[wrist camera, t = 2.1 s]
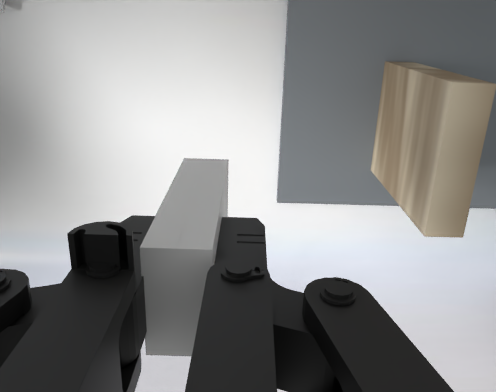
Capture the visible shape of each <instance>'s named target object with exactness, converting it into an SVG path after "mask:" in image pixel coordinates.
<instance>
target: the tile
mask: <svg viewBox="0 0 496 392" xmlns="http://www.w3.org/2000/svg"><path fill="white" fill-rule="evenodd" d="M495 89H496V84H495V83H491V82H487V81H483V80H480V79H476V78H472V77H468V76H464V75H461V74H457V73H453V72H449V71H445V70H442V69H438V68H434V67H430V66H426V65H423V64H419V63H415V62H389V61H385V65H384V73H383V81H382V88H381V96H380V103H379V111H378V118H377V126H376V134H375V141H374V149H373V156H372V164H371V171H372V173H373V174H374V175H375V176H376V177H377V179H378V180H379V181H380V182H381V184H382V185H383V186H384V187H385V188H386V190H387V191H388V192H389V193H390V195H391V196H392V197H393V198H394V200H395V201H396V202H397V203H398V204H399V206H400V207H401V208H402V209H403V211H404V212H405V213H406V214H407V216H408V217H409V218H410V219H411V220H412V222H413V223H414V224H415V225H416V227H417V228H418V229H419V230H420V232H421V233H422V234H423V235H424V236H428V237H463V235H464V230H465V226H466V221H467V217H468V212H469V208H470V203H471V199H472V194H473V190H474V185H475V180H476V176H477V171H478V167H479V162H480V158H481V153H482V149H483V144H484V139H485V135H486V130H487V126H488V121H489V117H490V112H491V108H492V103H493V99H494V94H495Z"/></svg>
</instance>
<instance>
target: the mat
mask: <svg viewBox="0 0 496 392" xmlns="http://www.w3.org/2000/svg"><path fill="white" fill-rule="evenodd" d="M385 61H389V62H415V63H419V64H423V65H426V66H430V67H434V68H438V69H442V70H445V71H449V72H453V73H457V74H461V75H464V76H468V77H472V78H476V79H480V80H483V81H487V82H491V83H495V84H496V0H288V13H287V31H286V48H285V66H284V84H283V101H282V119H281V136H280V154H279V172H278V189H277V203H313V204H350V205H387V206H399V204H398V203H397V202H396V201H395V200H394V198H393V197H392V196H391V195H390V193H389V192H388V191H387V190H386V188H385V187H384V186H383V185H382V184H381V182H380V181H379V180H378V179H377V177H376V176H375V175H374V174H373V173H372V171H371V164H372V156H373V149H374V141H375V134H376V126H377V118H378V111H379V103H380V96H381V88H382V81H383V73H384V65H385ZM470 208H496V89H495V94H494V99H493V103H492V108H491V112H490V117H489V121H488V126H487V130H486V135H485V139H484V144H483V149H482V153H481V158H480V162H479V167H478V171H477V176H476V180H475V185H474V190H473V194H472V199H471V203H470Z"/></svg>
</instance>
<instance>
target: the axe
mask: <svg viewBox="0 0 496 392" xmlns="http://www.w3.org/2000/svg"><path fill="white" fill-rule="evenodd" d="M0 10H1V11H3V12H4V11H5V0H0Z"/></svg>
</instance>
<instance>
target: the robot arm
mask: <svg viewBox="0 0 496 392" xmlns="http://www.w3.org/2000/svg"><path fill="white" fill-rule="evenodd" d="M227 214H228V160H221V159H190V158H184V160H183V162H182V164H181V166H180V168H179V170H178V172H177V174H176V176H175V178H174V180H173V182H172V184H171V186H170V188H169V190H168V192H167V194H166V196H165V198H164V200H163V202H162V204H161V206H160V208H159V210H158V212H157V214H156V216H131V217H129V218H127V219H126V220H124V221H122V222H121V223H118V222H110V221H107V222H94V223H89V224H84V225H82V226H79V227H77V228H74V229H73V230H72V231H70V232H69V233H68V242H69V251H70V259H71V267H72V269H71V271H70V272H69V273H68V275H67V276H66V278H65V279H64V280H63V282H62V283H60V284H55V285H49V286H42V287H35V288H30V285H29V278H28V277H27V276H26V274H25V273H23V272H21V271H18V270H11V269H0V392H134V391H135V388H136V385H137V382H138V379H139V376H140V372H141V352H140V350H141V347H142V344H143V341H144V338H145V343H146V355H168V356H192V357H191V363H190V368H189V373H188V379H187V384H186V389H185V392H277V389H280V390H284V391H287V392H454V391H453V390H452V389H451V388H450V386H449V385H448V384H447V383H446V382H445V381H444V379H443V378H442V377H441V376H440V375H439V374H438V372H437V371H436V370H435V369H434V368H433V367H432V365H431V364H430V363H429V362H428V361H427V359H426V358H425V357H424V356H423V355H422V354H421V352H420V351H419V350H418V349H417V348H416V347H415V345H414V344H413V343H412V342H411V341H410V340H409V338H408V337H407V336H406V335H405V334H404V333H403V331H402V330H401V329H400V328H399V327H398V325H397V324H396V323H395V322H394V321H393V320H392V318H391V317H390V316H389V315H388V314H387V313H386V311H385V310H384V309H383V308H382V307H381V306H380V304H379V303H378V302H377V301H376V300H375V299H374V297H373V296H372V295H371V294H370V293H369V292H368V291H367V290H366V289H365V288H363V287H362V286H361V285H359V284H357V283H354V282H352V281H350V280H347V279H341V278H336V277H334V278H322V279H317V280H314V281H312V282H311V283H309V284H308V285H307V286H306V288H305V290H304V293H302V292H297V291H293V290H290V289H286V288H284V287H282V286H280V285H278V284H277V283H275V282H274V281H273V280H272V279H271V278H270V274H269V272H268V269H267V258H266V240H265V226H264V225H263V224H262V223H261V222H260V221H259V220H258V219H257V218H237V217H227Z"/></svg>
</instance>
